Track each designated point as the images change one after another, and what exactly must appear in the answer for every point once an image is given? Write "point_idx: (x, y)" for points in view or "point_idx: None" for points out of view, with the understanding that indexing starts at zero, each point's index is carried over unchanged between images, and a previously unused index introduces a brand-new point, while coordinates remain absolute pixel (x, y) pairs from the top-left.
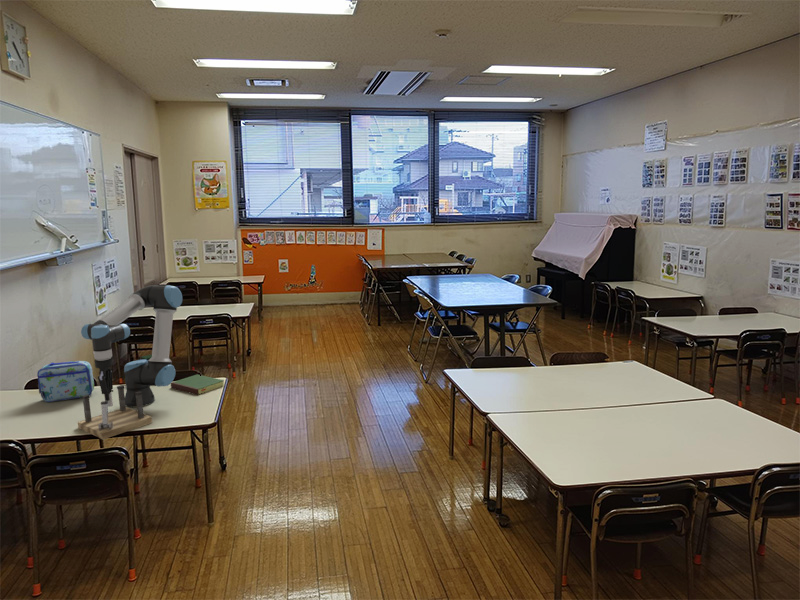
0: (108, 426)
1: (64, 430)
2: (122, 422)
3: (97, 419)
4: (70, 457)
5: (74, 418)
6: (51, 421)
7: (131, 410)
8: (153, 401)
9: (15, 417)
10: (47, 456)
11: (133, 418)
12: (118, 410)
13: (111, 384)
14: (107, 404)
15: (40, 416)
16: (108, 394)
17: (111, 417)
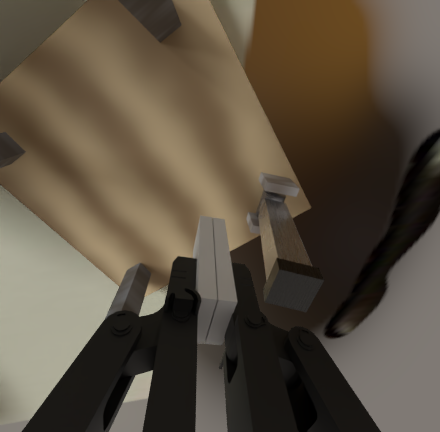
0: (278, 193)
1: (152, 312)
2: (208, 134)
3: (125, 245)
4: (393, 264)
5: (40, 307)
6: (61, 350)
7: (8, 97)
8: None
9: (18, 411)
10: (341, 312)
11: (163, 73)
12: (5, 173)
13: (104, 395)
14: (282, 256)
15: (13, 376)
16: (245, 308)
17: (113, 194)
